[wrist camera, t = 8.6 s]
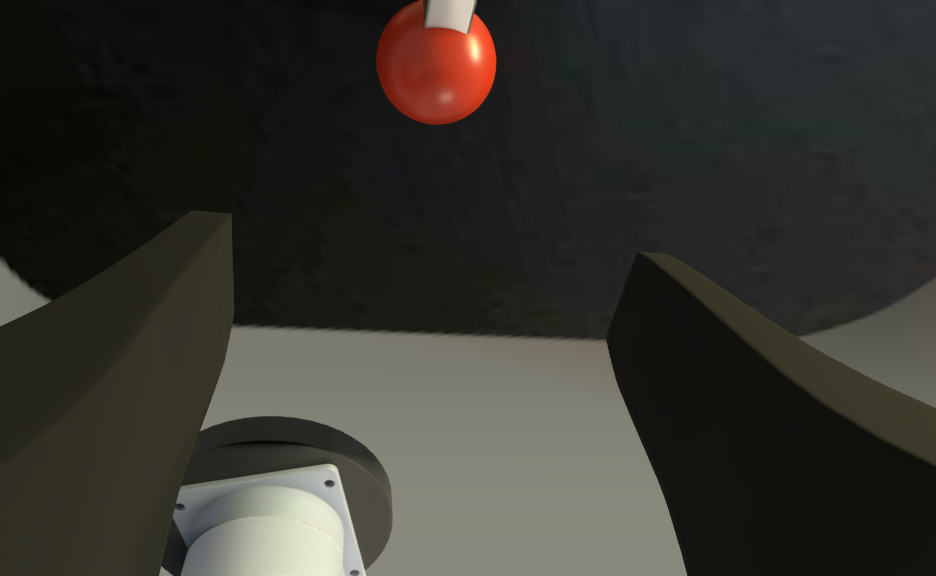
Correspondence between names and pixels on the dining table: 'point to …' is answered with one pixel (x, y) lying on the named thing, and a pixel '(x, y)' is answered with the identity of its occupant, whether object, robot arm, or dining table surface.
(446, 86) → the switch lever
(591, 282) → the dining table surface
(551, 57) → the dining table surface
